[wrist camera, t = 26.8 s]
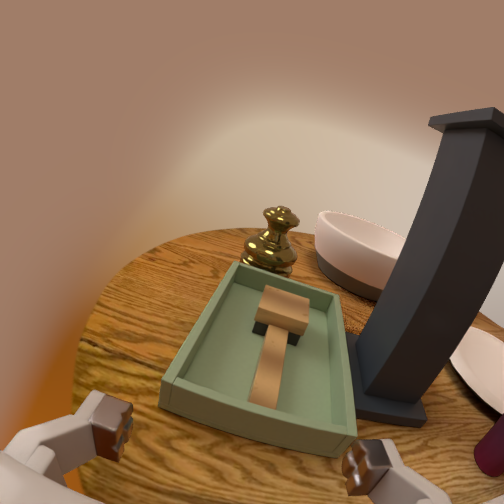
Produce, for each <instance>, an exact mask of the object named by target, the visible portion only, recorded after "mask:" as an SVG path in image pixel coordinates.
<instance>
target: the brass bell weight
mask: <svg viewBox="0 0 504 504" xmlns="http://www.w3.org/2000/svg"><path fill="white" fill-rule="evenodd" d="M263 215H264V216H265V218H266V219H267V221H268V228H267V229H266V230H264V231H262V232H259V233H258V234H256V235H252V236H249V237H248V238H247V239H246V240H245V243H244V249H245V251H244V252H242V253H241V258H240V263H243V264H246V265H249V266H252V267H255V268H258V269H261V270H264V271H267V272H270V273H273V274H276V275H279V276H282V277H285V278H288V279H289V277H290V274H291V273H292V267H291V266H292V265H293V264H294V263H295V261H296V260H297V253H296V251H295V249H294V248H293V247H292V246H291V243H290V241H289V240H288V237H287V232H288V231H289V230H290V229H292V228H294V227H297V226H298V225H299V223H300V220H299V219H298V218H297V217H296V215H295V214H293V213H291V210H290V209H289V208H286V207H284V206H278V207H277V208H275V207H271V208H267V209H265V210H264V212H263Z"/></svg>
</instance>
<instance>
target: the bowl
mask: <svg viewBox="0 0 504 504" xmlns="http://www.w3.org/2000/svg"><path fill="white" fill-rule="evenodd" d="M405 241H406V239H405V238H404V237H401V236H400V235H398V234H396V233H394V232H392V231H390V230H388V229H386V228H384V227H382V226H379V225H377V224H375V223H372V222H369V221H367V220H364V219H361V218H358V217H355V216H352V215H349V214H345V213H340V212H334V211H322V212H320V213H319V214H318V219H317V223H316V227H315V248H316V254H317V260H318V265H319V268H320V269H321V270H322V272H323V273H324V274H325V275H326V276H327V277H328V278H330V279H331V280H332V281H334V282H335V283H336V284H338V285H340V286H341V287H343V288H344V289H346V290H348V291H350V292H352V293H354V294H357V295H359V296H361V297H364V298H367V299H370V300H373V301H377V302H378V300H379V298H380V296H381V294H382V292H383V289H384V287H385V285H386V283H387V281H388V279H389V277H390V275H391V273H392V270H393V268H394V266H395V264H396V262H397V259H398V257H399V255H400V253H401V250H402V248H403V246H404V243H405Z"/></svg>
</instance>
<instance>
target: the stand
mask: <svg viewBox="0 0 504 504" xmlns="http://www.w3.org/2000/svg"><path fill="white" fill-rule="evenodd" d="M428 126H430V127H432V128H434V129H436V130H438V131H440V132H442V133H443V136H442V140H441V143H440V146H439V150H438V153H437V157H436V160H435V163H434V166H433V169H432V172H431V175H430V178H429V181H428V184H427V186H426V190H425V192H424V195H423V198H422V200H421V203H420V206H419V208H418V211H417V214H416V216H415V219H414V221H413V224H412V226H411V229H410V231H409V234H408V236H407V239H406V241H405V243H404V246H403V248H402V250H401V253H400V255H399V257H398V259H397V262H396V264H395V266H394V268H393V270H392V273H391V275H390V277H389V279H388V281H387V283H386V285H385V287H384V289H383V292H382V294H381V296H380V298H379V300H378V302H377V304H376V306H375V308H374V310H373V311H372V313H371V315H370V317H369V319H368V321H367V323H366V325H365V327H364V329H363V330H362V332H361V334H360V336H359V335H356V334H353V333H349V332H345V335H346V341H347V348H348V355H349V363H350V370H351V378H352V386H353V395H354V404H355V414H356V418H361V419H366V420H372V421H377V422H383V423H390V424H396V425H403V426H411V427H419V428H421V427H422V426H423V425H424V424H425V422H426V421H427V417H426V413H425V410H424V407H423V404H422V401H421V397H422V395H423V394H424V393H425V392H426V390H427V389H428V388H429V386H430V385H431V384H432V382H433V381H434V380H435V378H436V377H437V376H438V374H439V373H440V372H441V370H442V369H443V367H444V366H445V364H446V363H447V362H448V360H449V359H450V357H451V356H452V354H453V353H454V351H455V350H456V348H457V347H458V345H459V343H460V342H461V340H462V339H463V337H464V335H465V334H466V332H467V331H468V329H469V327H470V326H471V324H472V322H473V320H474V319H475V317H476V315H477V313H478V312H479V310H480V308H481V306H482V304H483V303H484V301H485V299H486V297H487V295H488V293H489V291H490V289H491V287H492V285H493V283H494V281H495V279H496V277H497V275H498V273H499V271H500V269H501V266H502V264H503V262H504V114H503V113H502V112H500V111H499V110H497V109H496V108H495V107H490V108H484V109H476V110H469V111H463V112H456V113H450V114H444V115H438V116H433V117H431V118H430V120H429V124H428Z"/></svg>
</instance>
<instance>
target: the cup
mask: <svg viewBox="0 0 504 504" xmlns="http://www.w3.org/2000/svg"><path fill="white" fill-rule="evenodd" d="M474 456H475V460H476V463H477V465H478V466H479V468H480V469H481V470H482V471H483V472H484V473H485V474H487V475H489V476H492V477H496V476H499V475H501V474H502V473H503V472H504V413H503V415H502V416H501V417H500V418H499V420H498V421H497V422H496V423H495V425H494V426H493V427H492V428H491V429H490V431H489V432H488V433H487V434H486V435H485V436H484V437H483V439H482V440H481V441H480V442H479V443H478V444H477V445H476V447H475V450H474Z"/></svg>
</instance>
